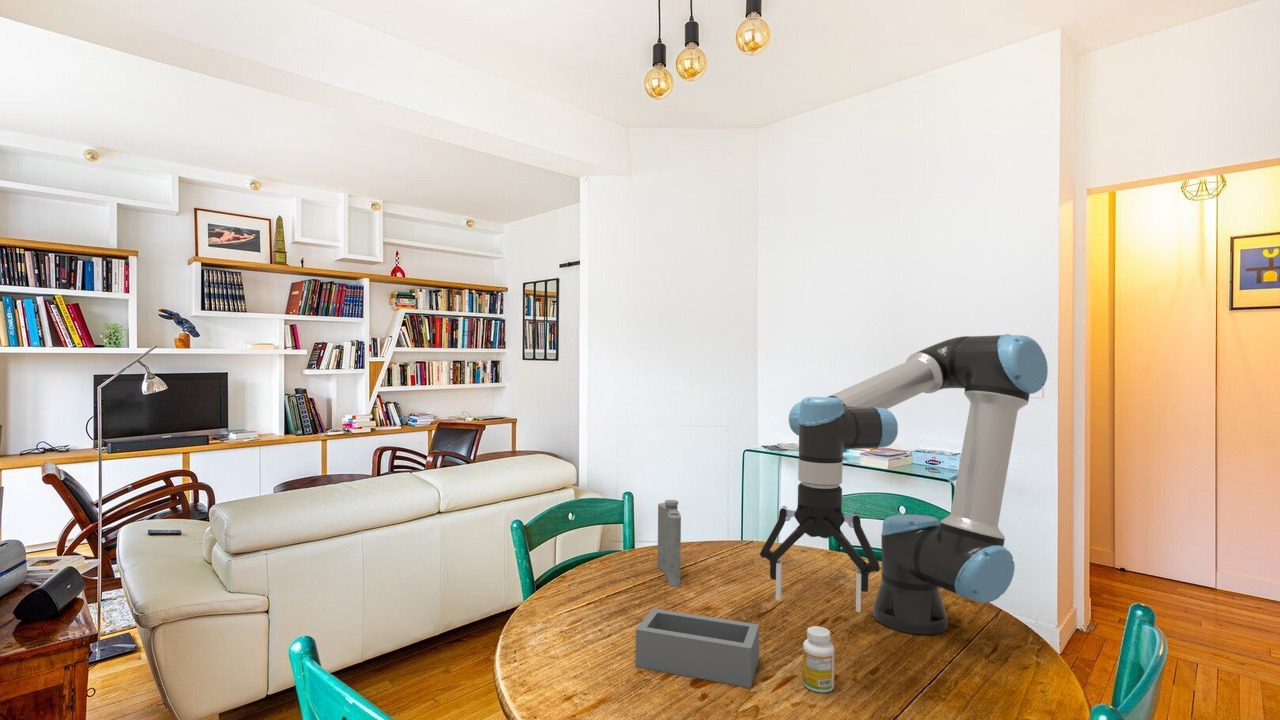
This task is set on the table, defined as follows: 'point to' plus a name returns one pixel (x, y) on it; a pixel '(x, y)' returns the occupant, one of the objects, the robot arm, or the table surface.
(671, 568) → the hip flask
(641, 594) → the table surface
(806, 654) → the supplement bottle
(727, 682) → the tray
